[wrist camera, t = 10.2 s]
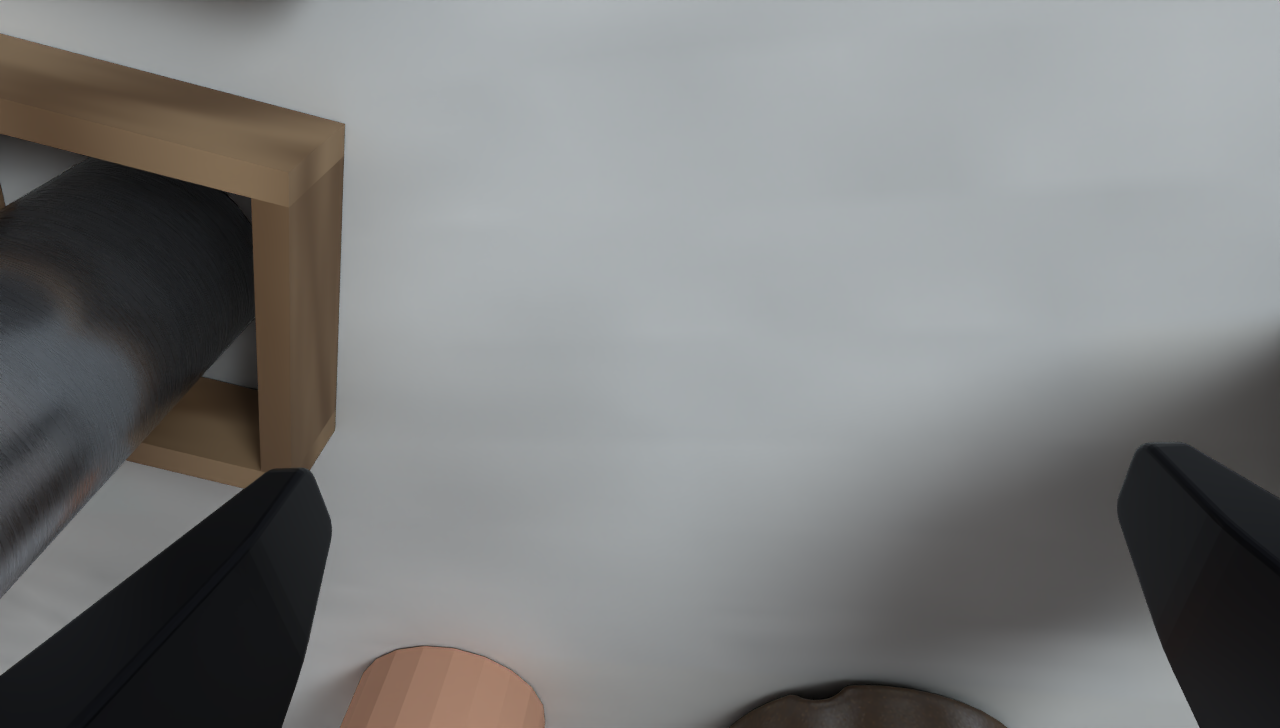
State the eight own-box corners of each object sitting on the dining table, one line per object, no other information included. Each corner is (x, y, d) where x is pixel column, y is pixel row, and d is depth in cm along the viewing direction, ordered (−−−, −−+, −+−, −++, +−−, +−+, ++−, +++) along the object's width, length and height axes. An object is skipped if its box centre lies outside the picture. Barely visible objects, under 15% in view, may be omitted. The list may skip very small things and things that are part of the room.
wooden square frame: (344, 123, 20) (288, 172, 17) (335, 429, 25) (290, 499, 23) (-71, 15, 19) (-189, 49, 17) (10, 351, 25) (-70, 414, 22)
